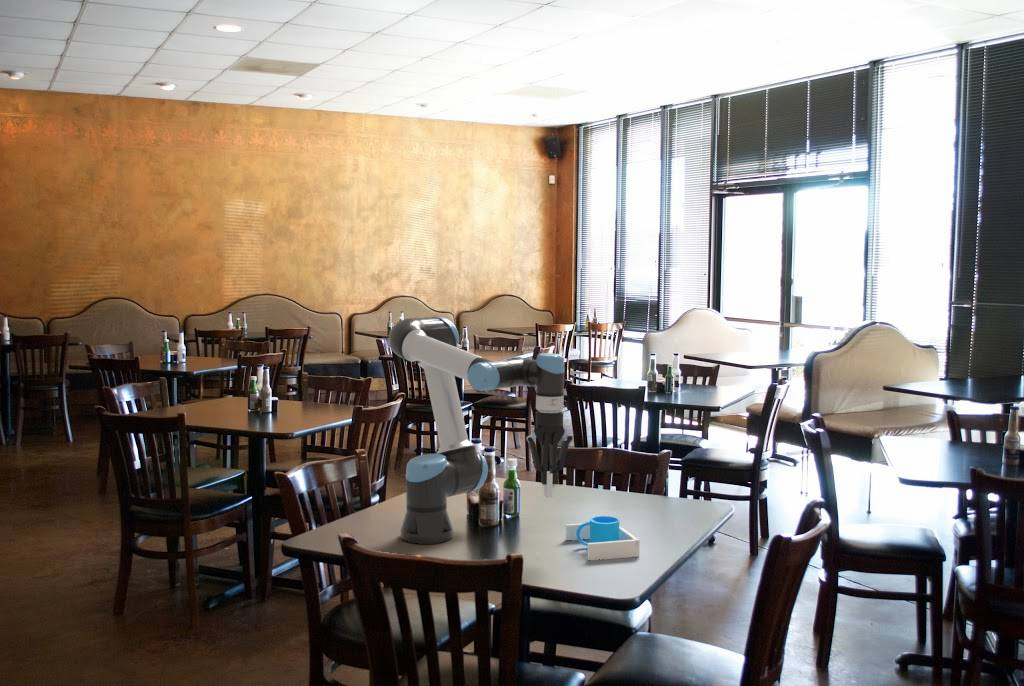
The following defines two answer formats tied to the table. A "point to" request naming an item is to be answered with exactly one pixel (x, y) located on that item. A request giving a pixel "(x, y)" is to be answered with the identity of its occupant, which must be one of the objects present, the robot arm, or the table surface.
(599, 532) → the mug
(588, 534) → the box
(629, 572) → the table surface
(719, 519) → the table surface
